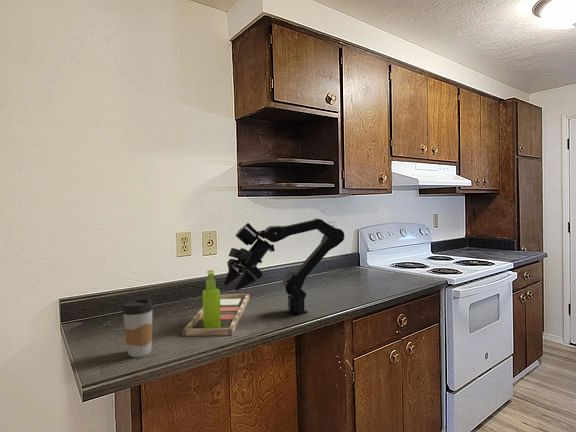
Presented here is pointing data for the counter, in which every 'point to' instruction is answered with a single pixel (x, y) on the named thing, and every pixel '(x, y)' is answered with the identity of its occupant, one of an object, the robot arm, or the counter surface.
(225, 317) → the mats
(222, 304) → the pad
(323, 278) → the counter surface
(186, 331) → the frame
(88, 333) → the counter surface
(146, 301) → the coffee cup
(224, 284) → the robot arm
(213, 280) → the soap dispenser
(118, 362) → the counter surface
